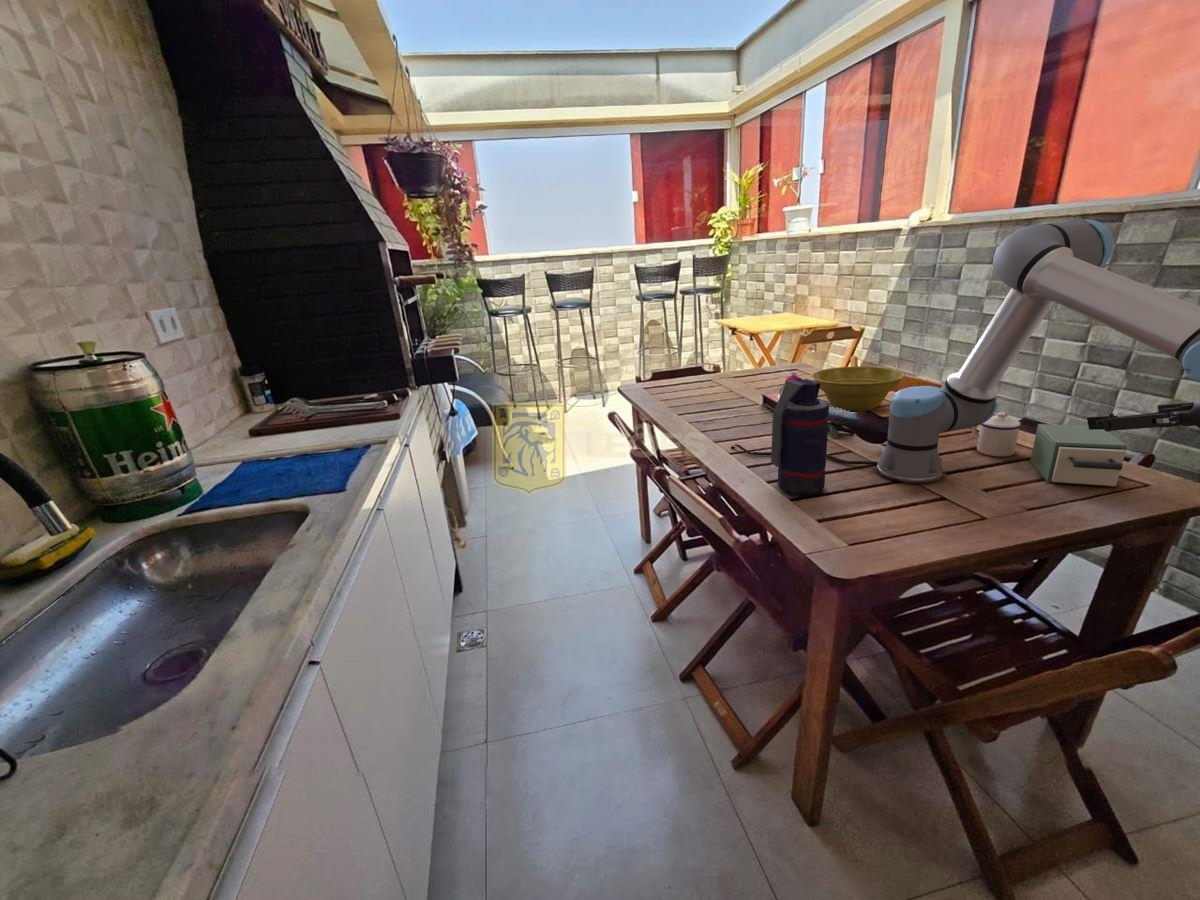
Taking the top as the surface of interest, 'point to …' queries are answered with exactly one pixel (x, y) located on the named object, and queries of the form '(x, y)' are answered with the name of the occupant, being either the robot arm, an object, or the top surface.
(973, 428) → the teacup with lid
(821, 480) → the grenade
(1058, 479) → the drawer
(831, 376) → the planter bowl
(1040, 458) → the cabinet
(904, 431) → the robot arm
